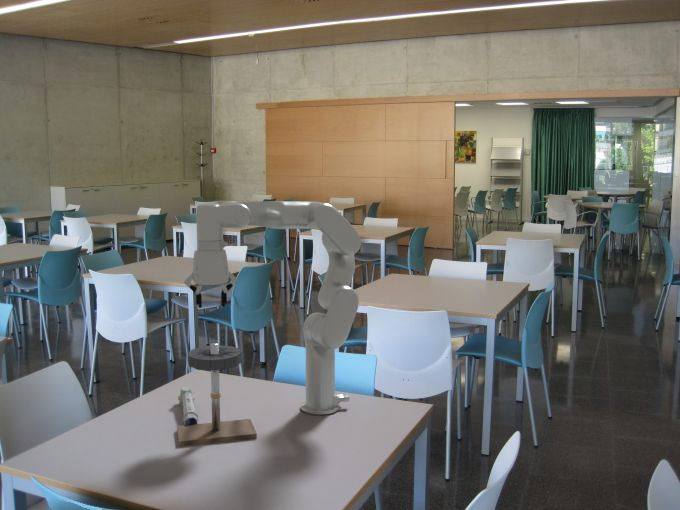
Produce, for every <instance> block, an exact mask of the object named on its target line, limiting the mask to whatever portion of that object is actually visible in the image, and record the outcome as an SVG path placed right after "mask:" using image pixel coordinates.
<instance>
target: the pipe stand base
mask: <svg viewBox="0 0 680 510" xmlns="http://www.w3.org/2000/svg"><path fill="white" fill-rule="evenodd" d="M176 432H177V439H178V446H179V447H180V448H181V447H187V446H199V445H207V444H218V443H225V442H226V443H227V442H235V441H245V440H254V438H256V439H257V438H258V435H257V434H258V433H257V431H256V428H255V426H254V424H253V422H252V419H251V418H244V419H235V420H234V419H233V420H226V421H220V431H212V422H204V423H197V424H193V425H185V424H184V425H183V424H182V425H177V426H176Z"/></svg>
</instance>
